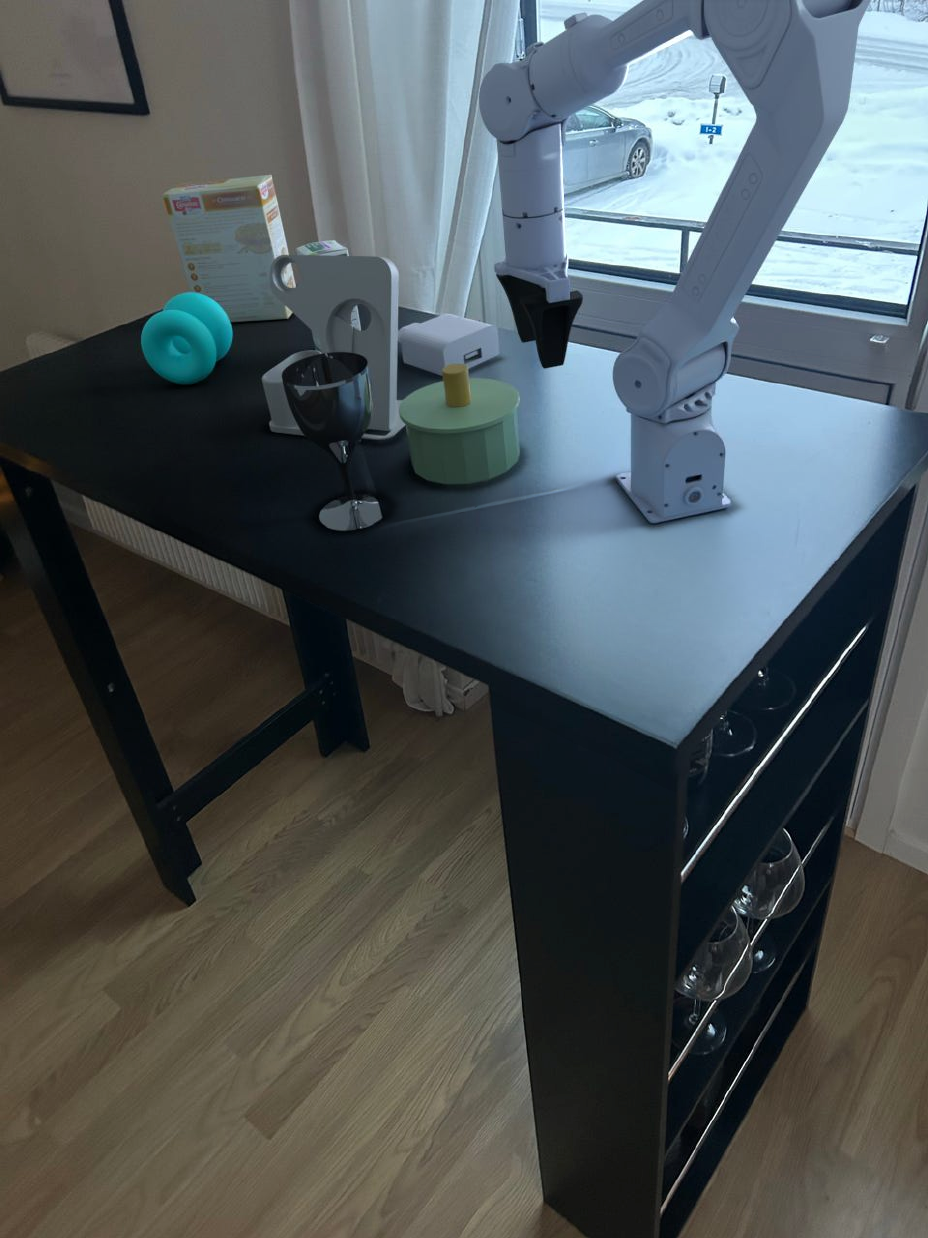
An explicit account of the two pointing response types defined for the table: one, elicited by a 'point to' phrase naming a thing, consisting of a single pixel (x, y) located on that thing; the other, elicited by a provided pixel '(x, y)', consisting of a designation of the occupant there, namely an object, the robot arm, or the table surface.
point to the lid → (459, 403)
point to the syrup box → (332, 250)
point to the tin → (465, 453)
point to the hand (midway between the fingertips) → (541, 352)
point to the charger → (448, 343)
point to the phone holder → (342, 328)
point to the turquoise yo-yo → (187, 338)
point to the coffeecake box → (231, 243)
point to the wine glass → (335, 424)
